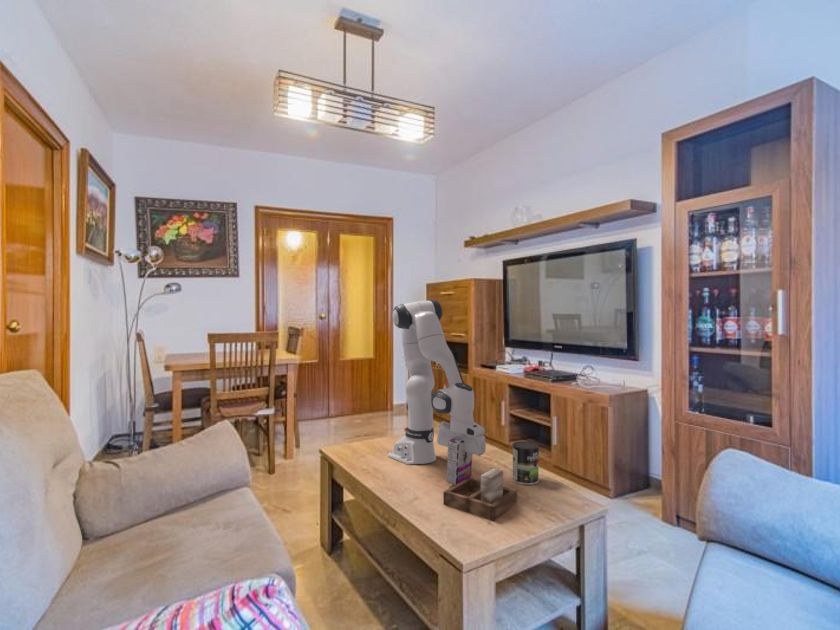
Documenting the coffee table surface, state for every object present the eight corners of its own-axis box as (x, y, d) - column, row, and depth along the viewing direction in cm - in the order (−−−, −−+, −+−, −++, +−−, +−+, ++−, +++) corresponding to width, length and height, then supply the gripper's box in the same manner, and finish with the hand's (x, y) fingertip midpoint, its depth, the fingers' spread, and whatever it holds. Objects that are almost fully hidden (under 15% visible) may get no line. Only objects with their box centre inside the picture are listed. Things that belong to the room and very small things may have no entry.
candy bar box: (460, 473, 187) (463, 433, 186) (471, 477, 184) (474, 436, 183) (445, 481, 178) (447, 439, 177) (456, 485, 175) (459, 442, 174)
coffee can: (544, 481, 184) (544, 445, 183) (526, 487, 178) (526, 450, 177) (524, 473, 192) (524, 439, 192) (506, 478, 186) (506, 444, 186)
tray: (443, 504, 162) (443, 470, 162) (468, 489, 176) (468, 457, 175) (494, 520, 150) (494, 484, 150) (516, 503, 163) (517, 469, 163)
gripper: (434, 421, 184) (433, 456, 184) (480, 433, 172) (478, 469, 172) (443, 418, 189) (442, 452, 189) (488, 429, 177) (486, 465, 177)
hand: (459, 460), depth 181 cm, fingers closed on candy bar box, 5 cm apart
